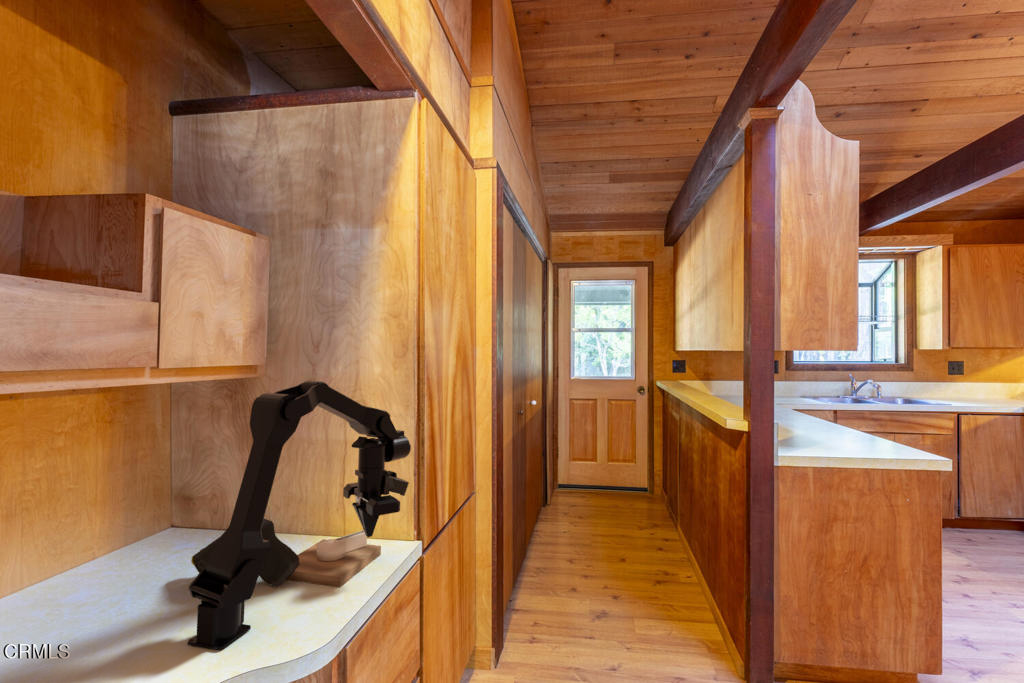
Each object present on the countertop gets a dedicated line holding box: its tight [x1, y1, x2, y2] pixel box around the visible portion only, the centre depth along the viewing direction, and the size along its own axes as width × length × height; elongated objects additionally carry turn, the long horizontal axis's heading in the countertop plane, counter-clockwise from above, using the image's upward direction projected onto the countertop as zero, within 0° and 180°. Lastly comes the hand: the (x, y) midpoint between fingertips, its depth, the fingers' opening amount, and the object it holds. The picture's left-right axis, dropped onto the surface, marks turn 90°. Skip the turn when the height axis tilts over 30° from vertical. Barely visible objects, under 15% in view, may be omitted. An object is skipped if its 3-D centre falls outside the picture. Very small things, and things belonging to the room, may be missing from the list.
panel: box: [286, 539, 382, 588], centre depth 108 cm, size 17×15×2 cm
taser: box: [190, 518, 300, 588], centre depth 100 cm, size 4×18×15 cm
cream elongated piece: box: [316, 530, 368, 561], centre depth 110 cm, size 12×6×3 cm, turn 142°
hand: (369, 536), depth 110 cm, fingers closed
